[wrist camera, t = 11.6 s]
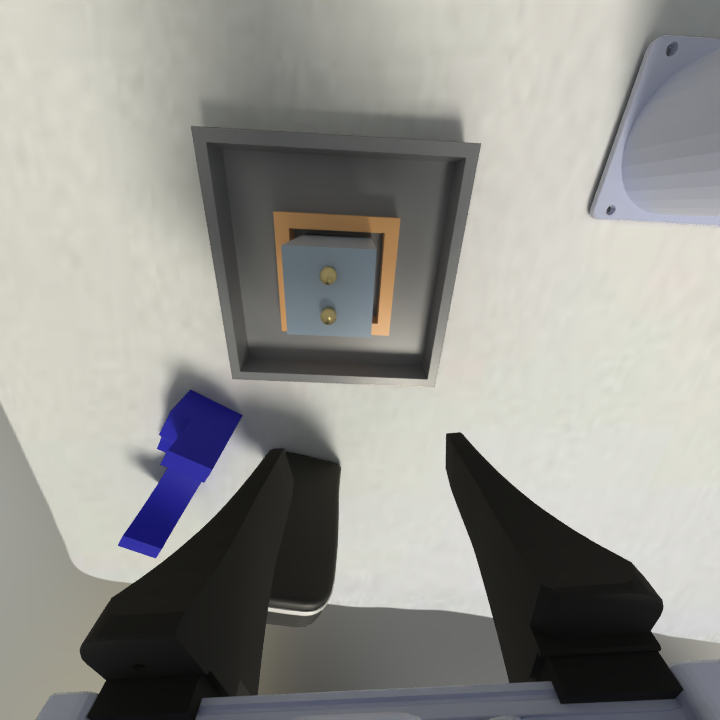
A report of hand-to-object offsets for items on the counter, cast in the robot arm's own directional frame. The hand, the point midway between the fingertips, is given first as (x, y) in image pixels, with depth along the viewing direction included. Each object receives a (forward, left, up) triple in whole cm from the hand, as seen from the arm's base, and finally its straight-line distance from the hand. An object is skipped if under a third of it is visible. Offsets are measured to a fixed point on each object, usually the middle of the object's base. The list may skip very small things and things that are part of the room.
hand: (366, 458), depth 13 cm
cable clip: (+15, +10, -11) cm, 21 cm away
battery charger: (+5, +12, -11) cm, 17 cm away
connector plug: (+2, -6, -10) cm, 12 cm away
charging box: (+2, -6, -10) cm, 12 cm away
